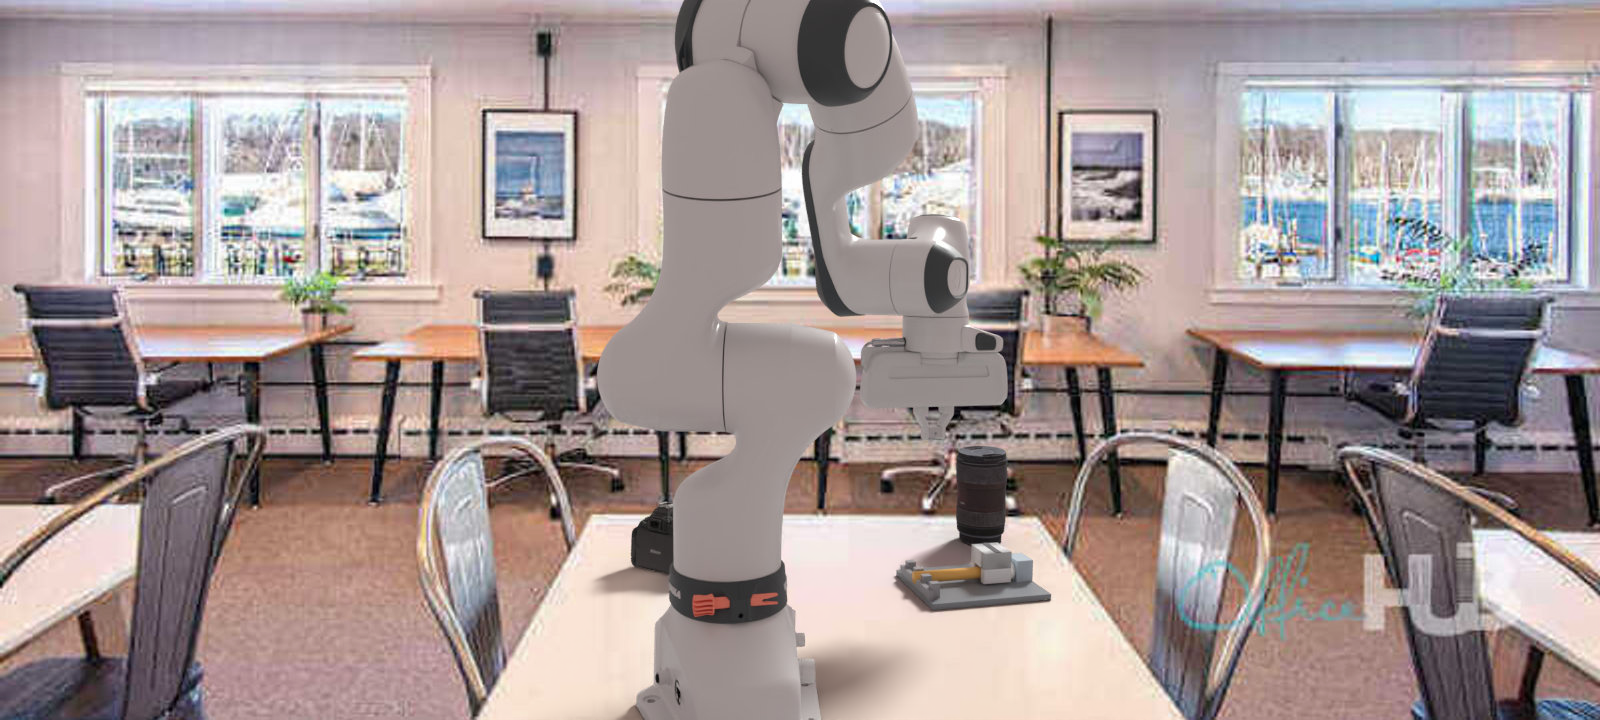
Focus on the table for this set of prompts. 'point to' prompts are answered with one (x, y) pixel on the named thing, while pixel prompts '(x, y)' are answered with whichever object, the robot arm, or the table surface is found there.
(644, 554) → the camera
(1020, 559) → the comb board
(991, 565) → the sleeve
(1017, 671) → the table surface
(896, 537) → the table surface
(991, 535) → the camera lens
